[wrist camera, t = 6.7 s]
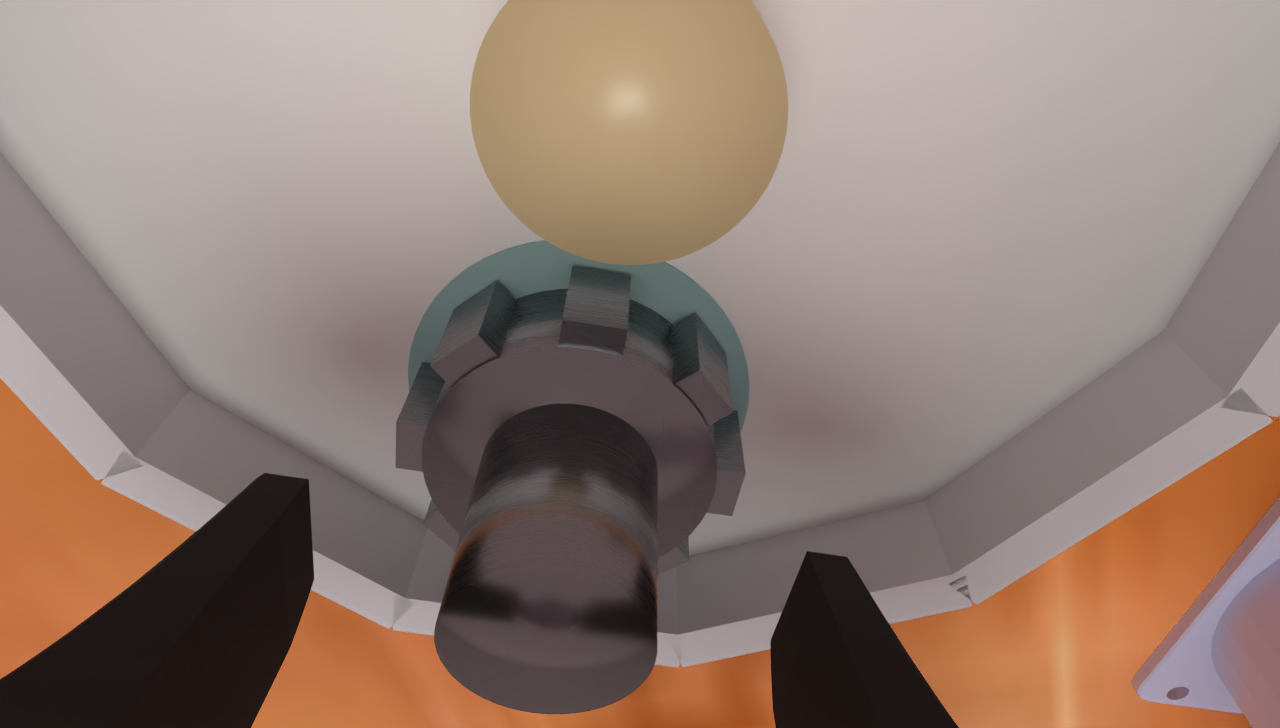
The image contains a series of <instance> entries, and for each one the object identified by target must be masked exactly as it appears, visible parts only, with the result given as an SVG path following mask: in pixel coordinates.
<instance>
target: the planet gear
mask: <svg viewBox="0 0 1280 728" xmlns="http://www.w3.org/2000/svg"><path fill="white" fill-rule="evenodd" d="M630 282H631V275H627V274H621V273H615V272H609V271H603V270H597V269H591V268H585V267H579V266H572V271H571V276H570V281H569V287H568V289H555V290H547V291H541V292H537V293H533V294H529V295H525V296H522V297H520V298H517V299H514V298H513V297H512V296H511V295H510V294H509V293H508V292H507V290H506V289H505V288H504V287H503V286H502V285H501V284H500V282H499V281H498V280H497V281H495V282H494V283H492V284H490V285H489V286H487V287H486V288H484V289H483V290H481V291H480V292H478V293H477V294H475V295H474V296H472V297H471V298H469V299H468V300H466V301H465V302H463V303H462V304H460V305H459V306H457V307H456V308H454V309H453V312H452V314H451V317H450V319H449V321H448V324H447V326H446V329H445V331H444V333H443V336H442V338H441V341H440V343H439V345H438V348H437V350H436V353H435V355H434V357H433V360H432V362H431V363H425V362H422V364H421V366H420V368H419V371H418V373H417V375H416V378H415V380H414V382H413V385H412V387H411V389H410V391H409V394H408V396H407V398H406V401H405V403H404V405H403V408H402V410H401V412H400V415H399V417H398V419H397V422H396V466H395V468H400V469H407V470H414V471H421V472H423V475H424V479H425V483H426V486H427V488H428V491H429V493H430V496H431V498H432V499H431V502H430V505H429V508H428V511H427V514H426V517H425V520H424V523H423V524H424V525H426V526H427V527H428V528H429V529H430V530H431V531H432V532H434V533H435V534H436V535H437V536H438V537H439V538H440V539H442V540H443V541H444V542H445V543H446V544H447V545H448V546H450V547H451V548H452V549H453V550H454V551H455V555H454V559H453V562H452V566H451V570H450V573H449V577H448V581H447V584H446V588H445V591H444V595H443V599H442V602H441V606H440V609H439V613H438V617H437V620H436V624H435V631H434V641H435V646H436V650H437V653H438V655H439V657H440V660H441V662H442V663H443V665H444V666H445V668H446V669H447V670H448V671H449V673H450V674H451V675H452V676H453V677H454V678H455V679H456V680H457V681H458V682H460V683H461V684H462V685H463V686H464V687H466V688H467V689H469V690H470V691H472V692H473V693H475V694H477V695H479V696H481V697H482V698H484V699H487V700H489V701H491V702H494V703H496V704H499V705H502V706H505V707H508V708H512V709H516V710H520V711H526V712H532V713H541V714H570V713H579V712H585V711H590V710H594V709H598V708H601V707H604V706H607V705H610V704H612V703H614V702H617V701H619V700H621V699H623V698H624V697H626V696H627V695H629V694H631V693H632V692H633V691H635V690H636V689H637V688H638V687H639V686H640V685H641V684H642V683H643V682H644V681H645V680H646V679H647V677H648V676H649V674H650V673H651V671H652V669H653V667H654V664H655V662H656V657H657V611H658V575H659V574H662V573H664V572H666V571H668V570H670V569H672V568H674V567H677V566H679V565H681V564H683V563H685V562H687V561H689V539H688V536H689V535H690V534H691V533H692V532H693V531H694V530H695V529H696V527H697V526H698V525H699V524H700V522H701V521H702V519H703V518H704V516H705V514H706V513H712V514H719V515H726V516H732V515H733V512H734V509H735V506H736V502H737V499H738V496H739V493H740V490H741V487H742V484H743V481H744V478H745V475H746V472H745V465H744V457H743V449H742V441H741V434H740V426H739V418H738V411H736V410H733V405H732V397H731V389H730V381H729V373H728V364H727V356H726V352H725V350H724V349H723V348H722V346H721V345H720V344H719V342H718V341H717V340H716V338H715V337H714V336H713V335H712V333H711V332H710V331H709V329H708V328H707V327H706V325H705V324H704V323H703V321H702V320H701V319H700V317H699V316H698V315H697V313H694V314H692V315H690V316H689V317H687V318H685V319H684V320H682V321H680V322H678V323H677V324H675V325H673V324H671V323H670V322H669V321H668V320H667V319H666V318H664V317H663V316H661V315H659V314H658V313H656V312H655V311H653V310H652V309H650V308H648V307H646V306H644V305H642V304H640V303H638V302H636V301H633V300H631V299H629V298H630Z"/></svg>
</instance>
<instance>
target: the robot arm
mask: <svg viewBox="0 0 1280 728" xmlns="http://www.w3.org/2000/svg"><path fill="white" fill-rule="evenodd" d="M313 581H314V565H313V546H312V528H311V510H310V492H309V479H304V478H297V477H290V476H283V475H276V474H269V473H264V474H262V475H261V476H259V477H257V478H256V479H255V480H254V481H253V482H252V483H251V484H249V485H248V486H247V487H246V488H245V489H244V490H243V491H242V492H240V493H239V494H238V495H237V496H236V497H235V498H234V499H233V500H232V501H230V502H229V503H228V504H227V505H226V506H225V507H224V508H223V509H221V510H220V511H219V512H218V513H217V514H216V515H215V516H213V517H212V518H211V519H210V520H209V521H208V522H207V523H205V524H204V525H203V526H202V527H201V528H200V529H199V530H197V531H196V532H195V533H194V534H193V535H192V536H190V537H189V538H188V539H187V540H186V541H185V542H183V543H182V544H181V545H180V546H179V547H177V548H176V549H175V550H174V551H173V552H171V553H170V554H169V555H168V556H166V557H165V558H164V559H163V560H162V561H160V562H159V563H158V564H157V565H156V566H154V567H153V568H152V569H151V570H149V571H148V572H147V573H146V574H145V575H143V576H142V577H141V578H140V579H139V580H137V581H136V582H135V583H134V584H132V585H131V586H130V587H128V588H127V589H126V590H125V591H123V592H122V593H121V594H119V595H118V596H117V597H115V598H114V599H113V600H111V601H110V602H109V603H107V604H106V605H105V606H103V607H102V608H101V609H99V610H98V611H97V612H95V613H94V614H93V615H92V616H90V617H89V618H88V619H86V620H85V621H84V622H82V623H81V624H80V625H78V626H77V627H76V628H74V629H73V630H72V631H70V632H69V633H67V634H66V635H65V636H63V637H62V638H61V639H59V640H58V641H56V642H55V643H53V644H52V645H51V646H49V647H48V648H46V649H45V650H43V651H42V652H41V653H39V654H38V655H36V656H35V657H33V658H32V659H30V660H29V661H27V662H26V663H25V664H23V665H22V666H20V667H19V668H17V669H15V670H14V671H12V672H11V673H9V674H8V675H6V676H5V677H3V678H2V679H0V728H251V726H252V724H253V722H254V720H255V718H256V716H257V714H258V712H259V710H260V708H261V706H262V704H263V702H264V700H265V698H266V696H267V694H268V692H269V690H270V688H271V686H272V684H273V681H274V679H275V677H276V675H277V673H278V671H279V669H280V667H281V665H282V663H283V661H284V659H285V657H286V655H287V653H288V651H289V648H290V646H291V644H292V641H293V638H294V635H295V633H296V630H297V627H298V624H299V622H300V619H301V616H302V613H303V610H304V608H305V605H306V602H307V599H308V596H309V593H310V590H311V587H312V584H313ZM770 643H771V677H772V696H773V711H774V718H775V725H776V728H959V727H958V726H957V725H956V723H955V722H954V721H953V719H952V718H951V716H950V715H949V714H948V712H947V711H946V709H945V708H944V706H943V705H942V704H941V702H940V701H939V699H938V698H937V696H936V695H935V694H934V692H933V691H932V689H931V688H930V686H929V685H928V683H927V682H926V680H925V679H924V677H923V676H922V674H921V673H920V671H919V670H918V668H917V667H916V665H915V664H914V662H913V661H912V659H911V658H910V656H909V655H908V653H907V652H906V650H905V648H904V647H903V645H902V644H901V642H900V641H899V639H898V638H897V636H896V634H895V633H894V631H893V630H892V628H891V626H890V625H889V623H888V622H887V620H886V618H885V617H884V615H883V614H882V612H881V610H880V609H879V607H878V606H877V604H876V602H875V601H874V599H873V597H872V596H871V594H870V593H869V591H868V589H867V588H866V586H865V584H864V583H863V581H862V579H861V578H860V576H859V575H858V573H857V571H856V570H855V568H854V567H853V565H852V563H851V562H850V560H849V559H848V557H845V556H838V555H831V554H824V553H817V552H810V551H807V552H806V555H805V557H804V560H803V562H802V564H801V567H800V569H799V572H798V574H797V577H796V579H795V582H794V584H793V587H792V589H791V591H790V594H789V596H788V599H787V601H786V604H785V606H784V609H783V611H782V613H781V616H780V618H779V621H778V623H777V626H776V628H775V631H774V633H773V636H772V638H771V640H770ZM1132 686H1133V688H1134V689H1135V691H1136V693H1137V695H1138V696H1139V697H1140V698H1141V699H1143V700H1146V701H1150V702H1157V703H1164V704H1172V705H1179V706H1187V707H1194V708H1202V709H1209V710H1216V711H1224V712H1231V713H1239V714H1244V716H1245V718H1246V719H1247V721H1248V722H1249V724H1250V725H1251V727H1252V728H1280V497H1279V498H1278V499H1277V500H1276V502H1275V503H1274V504H1273V505H1272V507H1271V508H1270V509H1269V510H1268V512H1267V513H1266V514H1265V515H1264V517H1263V518H1262V519H1261V520H1260V521H1259V523H1258V524H1257V525H1256V526H1255V528H1254V529H1253V530H1252V531H1251V533H1250V534H1249V535H1248V536H1247V538H1246V539H1245V540H1244V541H1243V542H1242V544H1241V545H1240V546H1239V547H1238V549H1237V550H1236V551H1235V552H1234V554H1233V555H1232V556H1231V557H1230V559H1229V560H1228V561H1227V562H1226V563H1225V565H1224V566H1223V567H1222V568H1221V570H1220V571H1219V572H1218V573H1217V575H1216V576H1215V577H1214V578H1213V579H1212V581H1211V582H1210V583H1209V584H1208V586H1207V587H1206V588H1205V589H1204V591H1203V592H1202V593H1201V594H1200V596H1199V597H1198V598H1197V599H1196V600H1195V602H1194V603H1193V604H1192V605H1191V607H1190V608H1189V609H1188V610H1187V612H1186V613H1185V614H1184V615H1183V617H1182V618H1181V619H1180V620H1179V621H1178V623H1177V624H1176V625H1175V626H1174V628H1173V629H1172V630H1171V631H1170V633H1169V634H1168V635H1167V636H1166V638H1165V639H1164V640H1163V641H1162V642H1161V644H1160V645H1159V646H1158V647H1157V649H1156V650H1155V651H1154V652H1153V654H1152V655H1151V656H1150V657H1149V659H1148V660H1147V661H1146V662H1145V663H1144V665H1143V666H1142V667H1141V668H1140V670H1139V671H1138V672H1137V673H1136V675H1135V676H1134V678H1133V680H1132Z"/></svg>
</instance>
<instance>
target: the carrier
mask: <svg viewBox="0 0 1280 728" xmlns="http://www.w3.org/2000/svg"><path fill="white" fill-rule="evenodd" d="M572 266H579V267H585V268H591V269H597V270H603V271H609V272H615V273H621V274H627V275H631V282H630V298H629V299H631V300H633V301H636V302H638V303H640V304H642V305H644V306H646V307H648V308H650V309H652V310H653V311H655V312H656V313H658V314H659V315H661V316H663V317H664V318H666V319H667V320H668V321H669V322H670V323H671V324H673V325H675V324H677V323H678V322H680V321H682V320H684V319H685V318H687V317H689V316H690V315H692V314H694V313H697V315H698V316H699V317H700V319H701V320H702V321H703V323H704V324H705V325H706V327H707V328H708V329H709V331H710V332H711V333H712V335H713V336H714V337H715V338H716V340H717V341H718V342H719V344H720V345H721V346H722V348H723V349H724V350H725V352H726V356H727V364H728V373H729V381H730V389H731V397H732V405H733V410H736V411H738V418H739V426H740V434H741V441H742V449H743V457H744V465H745V472H746V475H745V478H744V481H743V484H742V487H741V490H740V493H739V496H738V499H737V502H736V506H735V509H734V512H733V515H732V516H726V515H719V514H712V513H706V514H705V516H704V518H703V519H702V521H701V522H700V524H699V525H698V526H697V527H696V529H695V530H694V531H693V532H692V533H691V534H690V535H689V536H688V539H689V561H687V562H685V563H683V564H681V565H679V566H677V567H674V568H672V569H670V570H668V571H666V572H664V573H662V574H659V575H658V611H657V657H656V662H655V665H662V666H670V667H679V664H680V663H681V665H682V667H687V666H692V665H697V664H702V663H706V662H711V661H716V660H721V659H725V658H730V657H735V656H740V655H745V654H749V653H754V652H759V651H764V650H768V649H771V643H770V640H771V638H772V636H773V633H774V631H775V628H776V626H777V623H778V621H779V618H780V616H781V613H782V611H783V609H784V606H785V604H786V601H787V599H788V596H789V594H790V591H791V589H792V587H793V584H794V582H795V579H796V577H797V574H798V572H799V569H800V567H801V564H802V562H803V560H804V557H805V555H806V552H807V551H810V552H817V553H824V554H831V555H838V556H845V557H848V559H849V560H850V562H851V563H852V565H853V567H854V568H855V570H856V571H857V573H858V575H859V576H860V578H861V579H862V581H863V583H864V584H865V586H866V588H867V589H868V591H869V593H870V594H871V596H872V597H873V599H874V601H875V602H876V604H877V606H878V607H879V609H880V610H881V612H882V614H883V615H884V617H885V618H886V620H887V622H888V623H889V624H892V623H897V622H902V621H906V620H911V619H916V618H921V617H925V616H930V615H935V614H940V613H945V612H949V611H954V610H959V609H964V608H968V607H972V603H971V601H972V602H973V603H975V604H976V605H977V604H979V603H981V602H982V601H984V600H986V599H987V598H989V597H990V596H992V595H994V594H995V593H997V592H998V591H1000V590H1002V589H1003V588H1005V587H1007V586H1008V585H1010V584H1011V583H1013V582H1015V581H1016V580H1018V579H1019V578H1021V577H1023V576H1024V575H1026V574H1028V573H1029V572H1031V571H1032V570H1034V569H1036V568H1037V567H1039V566H1040V565H1042V564H1044V563H1045V562H1047V561H1049V560H1050V559H1052V558H1053V557H1055V556H1057V555H1058V554H1060V553H1061V552H1063V551H1065V550H1066V549H1068V548H1070V547H1071V546H1073V545H1074V544H1076V543H1078V542H1079V541H1081V540H1083V539H1084V538H1086V537H1087V536H1089V535H1091V534H1092V533H1094V532H1095V531H1097V530H1099V529H1100V528H1102V527H1104V526H1105V525H1107V524H1108V523H1110V522H1112V521H1113V520H1115V519H1116V518H1118V517H1120V516H1121V515H1123V514H1125V513H1126V512H1128V511H1129V510H1131V509H1133V508H1134V507H1136V506H1137V505H1139V504H1141V503H1142V502H1144V501H1146V500H1147V499H1149V498H1150V497H1152V496H1154V495H1155V494H1157V493H1158V492H1160V491H1162V490H1163V489H1165V488H1167V487H1168V486H1170V485H1171V484H1173V483H1175V482H1176V481H1178V480H1179V479H1181V478H1183V477H1184V476H1186V475H1188V474H1189V473H1191V472H1192V471H1194V470H1196V469H1197V468H1199V467H1200V466H1202V465H1204V464H1205V463H1207V462H1209V461H1210V460H1212V459H1213V458H1215V457H1217V456H1218V455H1220V454H1221V453H1223V452H1225V451H1226V450H1228V449H1230V448H1231V447H1233V446H1234V445H1236V444H1238V443H1239V442H1241V441H1242V440H1244V439H1246V438H1247V437H1249V436H1251V435H1252V434H1254V433H1255V432H1257V431H1259V430H1260V429H1262V428H1264V427H1265V426H1267V425H1268V424H1270V423H1272V422H1273V421H1272V419H1271V418H1270V417H1269V416H1273V417H1279V415H1280V0H0V378H1V379H2V380H3V381H4V382H5V384H6V385H7V386H8V387H9V388H10V389H11V390H12V391H13V392H14V393H15V394H16V395H17V396H18V397H19V398H20V400H21V401H22V402H23V403H24V404H25V405H26V406H27V407H28V408H29V409H30V410H31V411H32V412H33V413H34V414H35V415H36V417H37V418H38V419H39V420H40V421H41V422H42V423H43V424H44V425H45V426H46V427H47V428H48V429H49V430H50V431H51V433H52V434H53V435H54V436H55V437H56V438H57V439H58V440H59V441H60V442H61V443H62V444H63V445H64V446H65V447H66V449H67V450H68V451H69V452H70V453H71V454H72V455H73V456H74V457H75V458H76V459H77V460H78V461H79V462H80V463H81V464H82V466H83V467H84V468H85V469H86V470H87V471H88V472H89V473H90V474H91V475H92V476H93V477H94V478H95V479H96V480H100V479H103V478H104V480H103V482H102V483H101V484H102V485H104V486H106V487H108V488H110V489H112V490H114V491H116V492H118V493H120V494H122V495H124V496H126V497H128V498H130V499H132V500H134V501H136V502H138V503H140V504H142V505H144V506H146V507H148V508H150V509H152V510H154V511H156V512H158V513H160V514H162V515H164V516H166V517H168V518H170V519H172V520H174V521H176V522H178V523H180V524H182V525H184V526H186V527H188V528H190V529H192V530H194V531H197V530H199V529H200V528H201V527H202V526H203V525H204V524H205V523H207V522H208V521H209V520H210V519H211V518H212V517H213V516H215V515H216V514H217V513H218V512H219V511H220V510H221V509H223V508H224V507H225V506H226V505H227V504H228V503H229V502H230V501H232V500H233V499H234V498H235V497H236V496H237V495H238V494H239V493H240V492H242V491H243V490H244V489H245V488H246V487H247V486H248V485H249V484H251V483H252V482H253V481H254V480H255V479H256V478H257V477H259V476H261V475H262V474H264V473H269V474H276V475H283V476H290V477H297V478H304V479H309V492H310V510H311V528H312V546H313V565H314V581H313V584H312V587H311V590H312V591H314V592H316V593H318V594H320V595H322V596H324V597H326V598H328V599H330V600H332V601H334V602H336V603H338V604H340V605H342V606H344V607H346V608H348V609H350V610H352V611H354V612H356V613H358V614H360V615H362V616H364V617H366V618H368V619H370V620H372V621H374V622H376V623H378V624H380V625H382V626H384V627H386V628H388V629H389V628H390V627H391V626H392V625H393V630H395V631H403V632H410V633H418V634H426V635H433V636H434V631H435V624H436V620H437V617H438V613H439V609H440V606H441V602H442V599H443V595H444V591H445V588H446V584H447V581H448V577H449V573H450V570H451V566H452V562H453V559H454V555H455V551H454V550H453V549H452V548H451V547H450V546H448V545H447V544H446V543H445V542H444V541H443V540H442V539H440V538H439V537H438V536H437V535H436V534H435V533H434V532H432V531H431V530H430V529H429V528H428V527H427V526H426V525H424V524H423V523H424V520H425V517H426V514H427V511H428V508H429V505H430V502H431V499H432V498H431V496H430V493H429V491H428V488H427V486H426V483H425V479H424V475H423V472H421V471H414V470H407V469H400V468H395V466H396V422H397V419H398V417H399V415H400V412H401V410H402V408H403V405H404V403H405V401H406V398H407V396H408V394H409V391H410V389H411V387H412V385H413V382H414V380H415V378H416V375H417V373H418V371H419V368H420V366H421V364H422V362H425V363H431V362H432V360H433V357H434V355H435V353H436V350H437V348H438V345H439V343H440V341H441V338H442V336H443V333H444V331H445V329H446V326H447V324H448V321H449V319H450V317H451V314H452V312H453V309H454V308H456V307H457V306H459V305H460V304H462V303H463V302H465V301H466V300H468V299H469V298H471V297H472V296H474V295H475V294H477V293H478V292H480V291H481V290H483V289H484V288H486V287H487V286H489V285H490V284H492V283H494V282H495V281H497V280H498V281H499V282H500V284H501V285H502V286H503V287H504V288H505V289H506V290H507V292H508V293H509V294H510V295H511V296H512V297H513V298H514V299H517V298H520V297H522V296H525V295H529V294H533V293H537V292H541V291H547V290H555V289H568V287H569V281H570V276H571V271H572Z"/></svg>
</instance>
